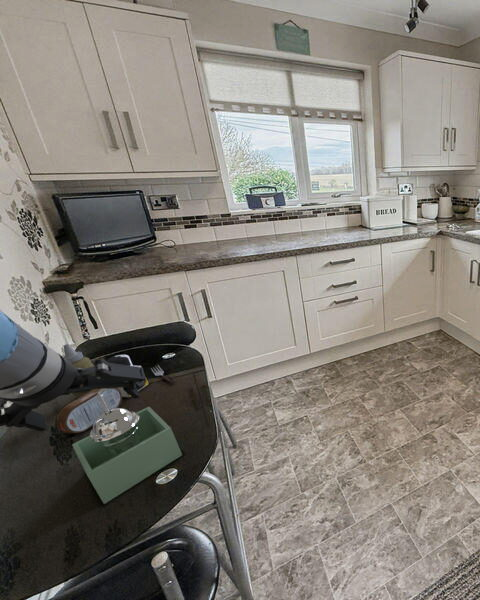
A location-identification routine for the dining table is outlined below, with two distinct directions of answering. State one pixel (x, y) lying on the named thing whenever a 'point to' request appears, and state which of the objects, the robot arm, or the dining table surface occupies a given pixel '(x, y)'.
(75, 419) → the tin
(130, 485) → the bin
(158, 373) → the fork
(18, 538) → the dining table surface
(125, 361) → the medicine bottle
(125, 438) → the cup with straw
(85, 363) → the squeeze bottle
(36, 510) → the dining table surface
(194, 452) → the dining table surface
